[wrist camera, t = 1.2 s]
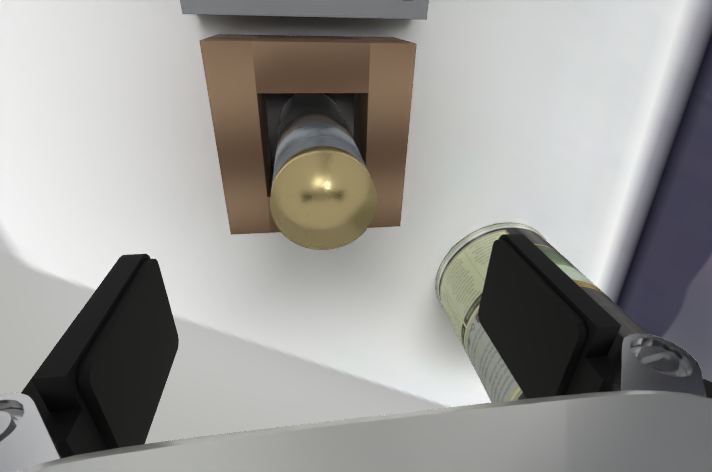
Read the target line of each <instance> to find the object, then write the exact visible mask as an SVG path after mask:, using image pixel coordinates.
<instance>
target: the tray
mask: <svg viewBox="0 0 712 472" xmlns="http://www.w3.org/2000/svg"><path fill="white" fill-rule="evenodd" d="M428 1H429V0H180V2H181V8H182V13H183V14H209V15H253V16H296V17H340V18H384V19H427V11H428Z"/></svg>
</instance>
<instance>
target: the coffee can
mask: <svg viewBox="0 0 712 472" xmlns="http://www.w3.org/2000/svg"><path fill="white" fill-rule="evenodd" d="M503 234H523V235H525V236H526V237H527V238H528V239H529V240H530V241H531V242H532V243H533V244H535V245H536V246H537V247H538V248H539V249H540V250H541V251H542V252H543V253H544V254H545V255H546V256H547V257H548V258H550V259H551V260H552V261H553V262H554V263H555V264H556V265H557V266H558V267H559V268H560V269H561V270H562V271H564V272H565V273H566V274H567V275H568V276H569V277H570V278H571V279H572V280H573V281H574V282H575V283H576V284H577V285H579V286H580V287H581V288H582V289H583V290H584V291H585V292H586V293H587V294H588V295H589V296H590V297H591V298H593V299H594V300H595V301H596V302H597V303H598V304H599V305H600V306H601V307H602V308H603V309H604V310H605V311H606V312H608V313H609V314H610V315H611V316H612V317H613V318H614V319H615V320H616V321H617V322H618V323H619V324H620V325H621V327H620V330H619V332H618V333H619V334H620V335H621V336H622V337H623V338H625V337H627V336H628V335H630V334H636V333H640V334H648V333H647V332H646V331H645V330H644V329H643V328H642V327H641V326H640V325H639V324H637V323H636V322H635V321H634V320H633V319H632V318H631V317H630V316H629V315H627V314H626V313H625V312H624V311H623V310H622V309H621V308H620V307H619V306H617V305H616V304H615V303H614V302H613V301H612V300H611V299H610V298H609V297H608V296H607V295H605V294H604V293H603V292H602V291H601V290H600V289H599V288H598V287H596V286H595V285H594V284H593V283H592V282H591V281H590V280H589V279H588V278H587V277H586V276H585V275H583V274H582V273H581V272H580V271H579V270H578V269H577V268H576V267H574V266H573V265H572V264H571V263H570V262H569V261H568V260H567V259H566V258H565V257H563V256H562V255H561V254H560V253H559V252H558V251H557V250H556V249H555V248H554V247H553V246H551V245H550V244H549V243H548V242H547V241H546V240H545V238H544V237H543V236H542V235H541V234H540V233H539V232H537V231H536V230H534V229H533V228H531V227H528V226H525V225H521V224H516V223H501V224H495V225H491V226H488V227H485V228H482V229H480V230H477V231H475V232H474V233H472V234H470V235H468V236H467V237H465V238H464V239H463V240H461V241H460V242H459V243H458V244H457V245H455V246H454V247H453V248H452V249H451V251H450V252H449V254H448V255H447V256H446V257H445V259H444V260H443V262H442V264H441V266H440V268H439V271H438V274H437V279H436V291H437V296H438V299H439V301H440V303H441V305H442V306H443V307H444V309H445V311H446V313H447V315H448V317H449V318H450V320H451V322H452V324H453V326H454V329H455V331H456V333H457V335H458V337H459V338H460V340H461V342H462V344H463V346H464V348H465V351H466V353H467V355H468V357H469V359H470V361H471V363H472V365H473V367H474V368H475V370H476V372H477V374H478V376H479V378H480V380H481V382H482V384H483V386H484V388H485V390H486V392H487V394H488V396H489V398H490V400H491V402H492V403H495V402H504V401H513V400H522V399H527V398H526V397H525V395H524V394H523V392H522V390H521V389H520V387H519V385H518V384H517V382H516V381H515V379H514V377H513V376H512V374H511V372H510V371H509V369H508V368H507V366H506V364H505V363H504V361H503V359H502V358H501V356H500V355H499V353H498V351H497V350H496V348H495V347H494V345H493V343H492V342H491V340H490V338H489V337H488V335H487V334H486V332H485V330H484V329H483V327H482V325H481V324H480V322H479V318H478V310H479V305H480V301H481V296H482V292H483V287H484V283H485V278H486V274H487V269H488V264H489V260H490V255H491V251H492V246H493V243H494V241H495V240H498V239H499V237H500V236H501V235H503ZM649 335H650V334H649Z"/></svg>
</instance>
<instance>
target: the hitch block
mask: <svg viewBox="0 0 712 472" xmlns="http://www.w3.org/2000/svg"><path fill="white" fill-rule="evenodd" d="M200 46H201V52H202V58H203V64H204V70H205V77H206V83H207V89H208V95H209V101H210V107H211V114H212V120H213V126H214V132H215V138H216V145H217V151H218V157H219V163H220V169H221V175H222V182H223V188H224V194H225V200H226V206H227V213H228V219H229V225H230V231H231V234H249V233H269V232H281V231H280V230H279V228H278V227H277V225H276V223H275V221H274V219H273V216H272V213H271V208H270V198H271V189H272V181H273V172H274V166H271V156H270V145H269V134H268V123H267V112H266V102H265V93H355V101H354V142H355V144H356V146H357V148H358V150H359V153H360V155H361V157H362V159H363V161H364V163H365V165H366V168H367V170H368V172H369V174H370V176H371V178H372V181H373V183H374V185H375V188H376V193H377V207H376V212H375V215H374V218H373V220H372V222H371V223H370V225H369V227H368V228H371V227H391V226H400V221H401V210H402V199H403V188H404V176H405V165H406V154H407V143H408V132H409V121H410V110H411V99H412V88H413V77H414V66H415V54H416V44H415V43H412V42H408V41H405V40H401V39H398V38H394V37H344V36H283V35H223V34H218V35H215V36H212V37H209V38H206V39H203V40H200Z"/></svg>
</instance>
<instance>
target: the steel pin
mask: <svg viewBox="0 0 712 472" xmlns="http://www.w3.org/2000/svg"><path fill="white" fill-rule="evenodd" d="M376 207H377V193H376V188H375V185H374V183H373V181H372V178H371V176H370V174H369V172H368V170H367V168H366V165H365V163H364V161H363V159H362V157H361V155H360V153H359V150H358V148H357V146H356V144H355V142H354V140H353V138H352V135H351V133H350V131H349V129H348V127H347V125H346V123H345V120H344V118H343V116H342V114H341V112H340V110H339V108H338V106H337V104H336V103H335V102H334V101H333V100H332V99H331V98H330V97H328V96H327V95H325V94H323V93H298V94H296V95H294V96H293V97H291V98H290V99H289V100H288V101H287V102H286V104H285V105H284V107H283V109H282V111H281V115H280V121H279V130H278V138H277V147H276V155H275V164H274V172H273V181H272V189H271V198H270V208H271V213H272V216H273V219H274V221H275V223H276V225H277V227H278V228H279V230H280V231H281V232H282V233H283V234H284V235H285V236H286V237H287V238H288V239H290V240H291V241H293V242H294V243H296V244H298V245H300V246H303V247H306V248H310V249H317V250H328V249H334V248H339V247H342V246H344V245H347V244H349V243H351V242H352V241H354V240H356V239H357V238H358V237H359V236H361V235H362V234H363V233H364V232H365V231H366V229H367V228H368V227H369V225H370V223H371V222H372V220H373V218H374V215H375V212H376Z"/></svg>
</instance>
